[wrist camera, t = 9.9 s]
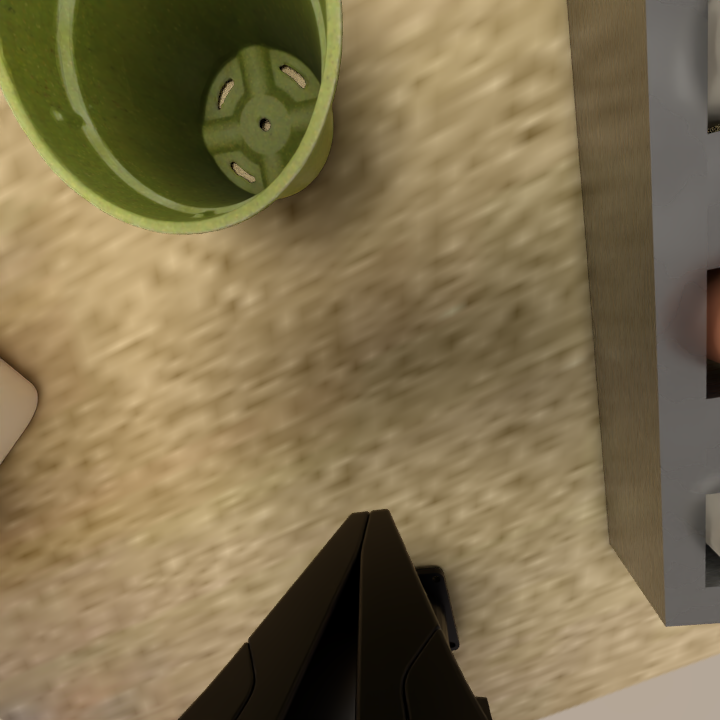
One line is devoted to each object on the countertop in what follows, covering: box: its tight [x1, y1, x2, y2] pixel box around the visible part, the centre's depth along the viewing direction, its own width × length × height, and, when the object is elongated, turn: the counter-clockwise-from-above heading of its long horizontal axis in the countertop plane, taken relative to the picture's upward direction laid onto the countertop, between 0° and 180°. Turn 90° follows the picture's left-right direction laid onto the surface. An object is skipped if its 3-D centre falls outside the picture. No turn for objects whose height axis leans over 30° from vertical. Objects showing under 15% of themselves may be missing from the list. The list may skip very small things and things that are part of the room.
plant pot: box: [0, 0, 343, 234], centre depth 14 cm, size 9×9×9 cm
